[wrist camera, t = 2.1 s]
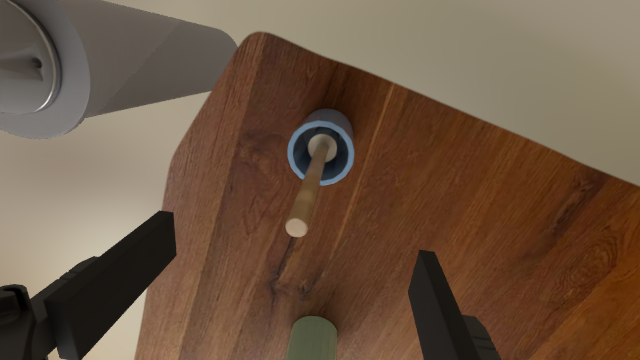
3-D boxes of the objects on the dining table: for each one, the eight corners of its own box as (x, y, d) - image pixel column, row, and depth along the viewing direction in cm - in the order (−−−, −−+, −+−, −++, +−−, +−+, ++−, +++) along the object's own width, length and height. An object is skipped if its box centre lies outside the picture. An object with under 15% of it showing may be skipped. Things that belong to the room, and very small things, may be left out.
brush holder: (289, 130, 41) (274, 148, 33) (331, 97, 39) (326, 106, 31) (322, 170, 43) (315, 196, 35) (364, 140, 41) (367, 160, 33)
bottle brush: (308, 134, 41) (257, 222, 19) (328, 118, 40) (300, 191, 18) (324, 153, 42) (293, 260, 19) (344, 138, 41) (335, 233, 18)
